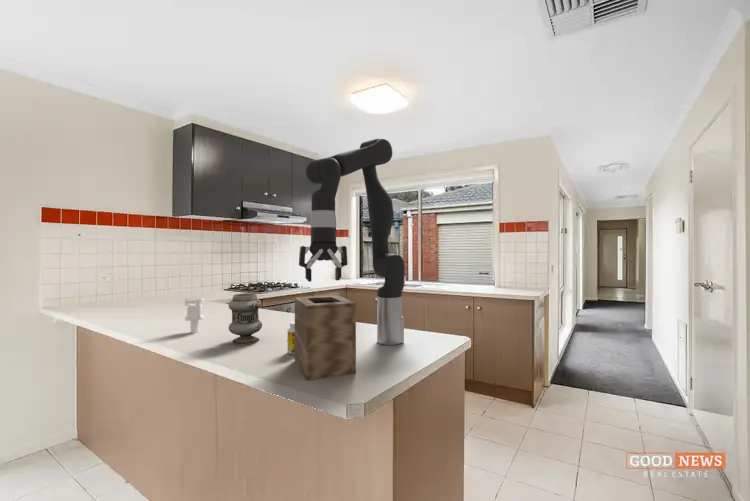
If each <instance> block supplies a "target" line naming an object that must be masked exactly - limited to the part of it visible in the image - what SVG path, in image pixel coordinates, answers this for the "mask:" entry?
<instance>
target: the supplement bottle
mask: <svg viewBox="0 0 750 501" xmlns="http://www.w3.org/2000/svg"><path fill="white" fill-rule="evenodd" d="M287 353H288V354H289V355H295V321H290V323H289V328H287Z"/></svg>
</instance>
